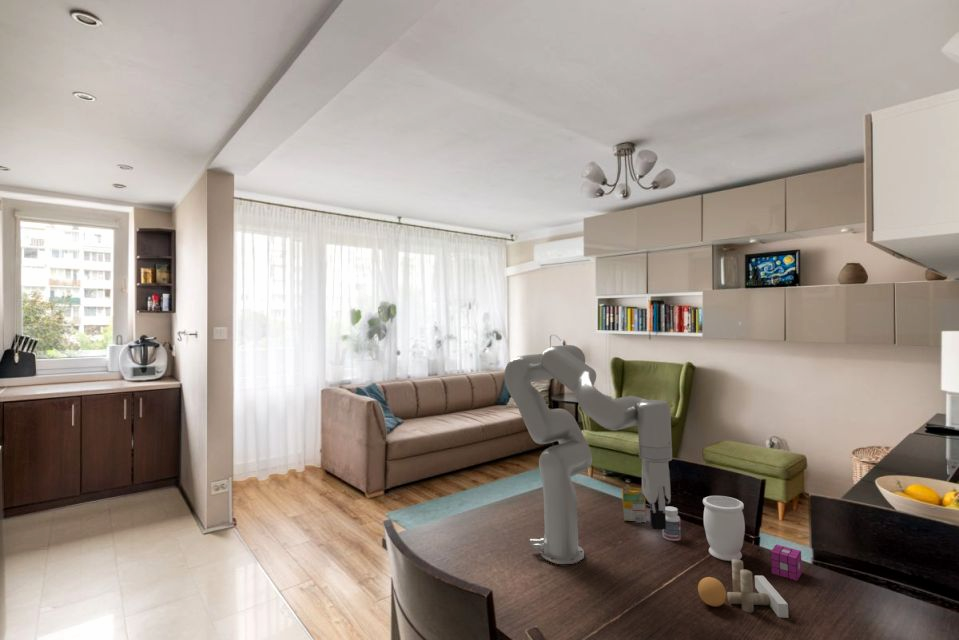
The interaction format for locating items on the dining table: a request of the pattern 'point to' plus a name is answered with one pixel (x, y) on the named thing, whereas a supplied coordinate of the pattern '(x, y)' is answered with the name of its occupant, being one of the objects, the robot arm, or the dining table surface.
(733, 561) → the pin
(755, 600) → the pin front
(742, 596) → the pin
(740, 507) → the jar
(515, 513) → the dining table surface
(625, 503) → the crayon box
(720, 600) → the ball
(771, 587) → the back rail
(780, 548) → the puzzle toy
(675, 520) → the pill bottle
